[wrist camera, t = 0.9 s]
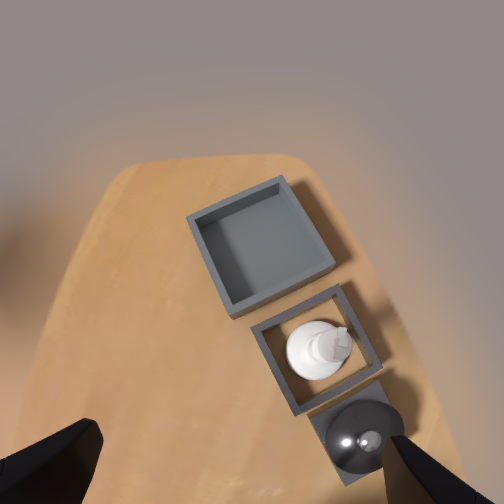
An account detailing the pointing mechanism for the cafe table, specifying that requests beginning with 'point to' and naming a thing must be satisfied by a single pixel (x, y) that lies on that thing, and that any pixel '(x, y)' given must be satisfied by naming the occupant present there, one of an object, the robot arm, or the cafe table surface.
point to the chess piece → (317, 349)
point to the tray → (259, 246)
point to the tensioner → (343, 399)
